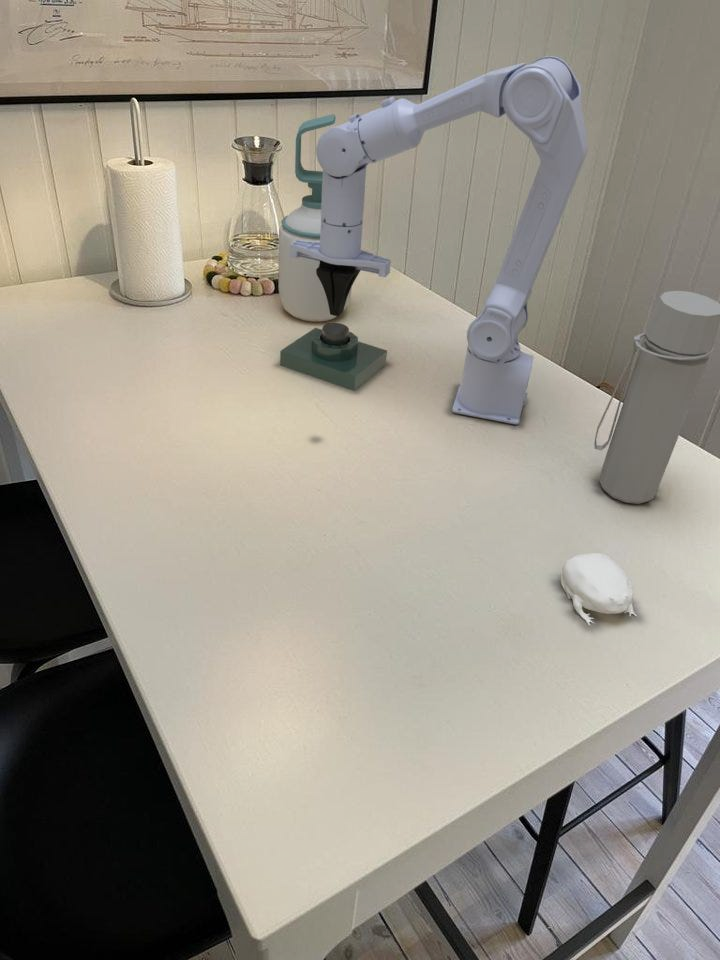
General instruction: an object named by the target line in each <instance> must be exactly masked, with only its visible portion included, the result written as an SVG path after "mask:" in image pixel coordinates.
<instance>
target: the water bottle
mask: <svg viewBox="0 0 720 960" xmlns="http://www.w3.org/2000/svg"><path fill="white" fill-rule="evenodd" d="M719 328H720V303H719V302H718V301H717V300H715V299H713V298H711V297H708V296H707V295H703V294H701V293H696V292H693V291H685V290H684V291H683V290H671V291H665V292H663V293H662V294H661V295H660V296H659V298H658V300H657V303H656V306H655V307H654V310H653V312H652V313H651V317H650V319H649V321H648V324H647V326H646V328H645V330H644V332H643V333H640V334H637V335H634V338H633V339H634V340H633V348H632V352H631V354H630V356H629V358H628V361H627V363H626V365H625V367H624V369H623V370H622V374H621V375H620V377H619V380H618V382H617V384H616V386H615V389H614V391H613V393H612V394H611V397H610V399H609V401H608V403H607V405H606V408H605V410H604V412H603V414H602V417H601V419H600V421H599V422H598V425H597V427H596V432H595V437H594V443H593V445H594V450H597V451H603V450H604V449H606V448H607V446H608V445H609V446H608V449H607V452H606V455H605V458H604V461H603V464H602V467H601V470H600V473H599V475H598V479H599V482H600V486H601V488H602V490H603V491H604V492H605V493H607V494H608V495H609V496H610V497H612V499H616V500H618V501H620V502H623V503H627V504H638V505H640V504H644V503H646V502H650V501H652V500H653V499H654V497H655V496H656V494H657V493H658V490H659V488H660V485H661V482H662V480H663V477H664V475H665V473H666V470H667V468H668V465H669V462H670V459H671V457H672V454H673V451H674V449H675V447H676V444H677V441H678V439H679V436H680V434H681V431H682V428H683V426H684V423H685V421H686V418H687V416H688V413H689V410H690V408H691V406H692V403H693V401H694V398H695V395H696V393H697V390H698V387H699V386H700V382H701V380H702V377H703V374H704V372H705V370H706V367H707V364H708V362H709V359H710V356H711V354H712V353H713V351H714V349H715V342H716V339H717V334H718V330H719ZM641 338H643V340H644V341H643V342H642V344H640V341H641ZM638 350H640V351H639V354H638V357H637V360H636V363H635V366H634V368H633V372H632V374H631V378H630V381H629V384H628V386H627V383H628V378H629V375H630V371H631V367H632V364H633V361H634V358H635V357H634V356H635V354H636V352H637V351H638ZM628 366H629V367H628ZM627 369H628V370H627ZM626 370H627V374H626V377H625V381H624V384H623V387H622V391H621V394H620V397H619V401H618V404H617V407H616V411H615V413H614V414H615V415H614V417H613V421H612V425H611V427H610V428H611V429H610V431H609V435H608V439H607V440H606V442H605V443H603V444H602V445H600V444H599V445H598V444H597V438H598V433H599V430H600V428H601V426H602V423H603V421H604V419H605V416H606V414H607V412H608V410H609V408H610V406H611V404H612V401H613V399H614V397H615V395H616V393H617V390H618V388H619V386H620V384H621V382H622V379H623V377H624V375H625V372H626ZM626 386H627V391H626V394H625V396H624V393H625V389H626ZM623 396H624V399H623ZM622 400H623V403H622ZM621 403H622V406H621ZM620 407H621V409H620ZM618 413H619V414H618ZM616 421H617V422H616Z"/></svg>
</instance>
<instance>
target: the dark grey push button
mask: <svg viewBox="0 0 720 960" xmlns="http://www.w3.org/2000/svg"><path fill="white" fill-rule="evenodd" d="M321 330H322V342H323V343H325V344H328V345H332V346H341V345H346V344H347V343H348V337H349V332H350V328H349V327H348V326H347V325H346V324H343V323H340V322H328V323H326V324H324V325H322V327H321Z"/></svg>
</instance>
